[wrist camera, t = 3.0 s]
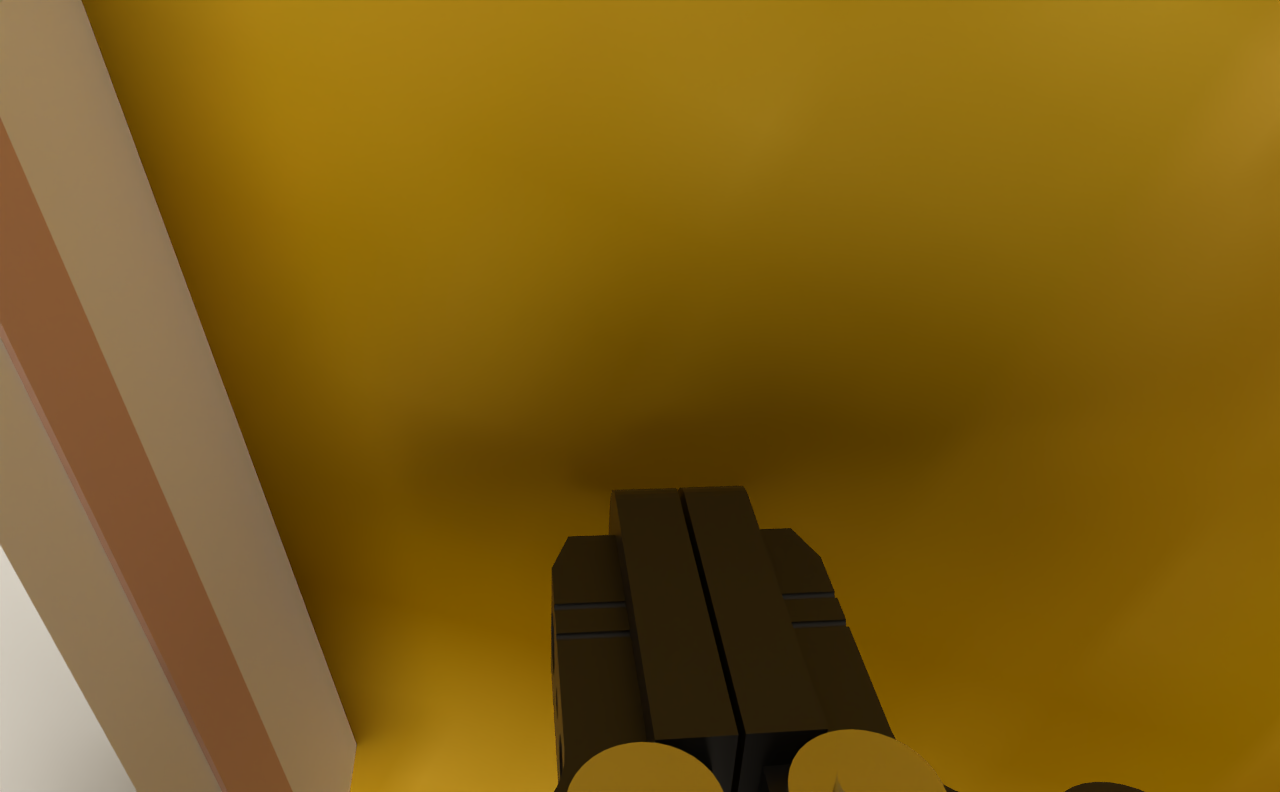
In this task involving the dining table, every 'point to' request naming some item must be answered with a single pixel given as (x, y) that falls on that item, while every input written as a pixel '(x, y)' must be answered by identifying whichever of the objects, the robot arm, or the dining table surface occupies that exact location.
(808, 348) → the dining table surface
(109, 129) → the carton
